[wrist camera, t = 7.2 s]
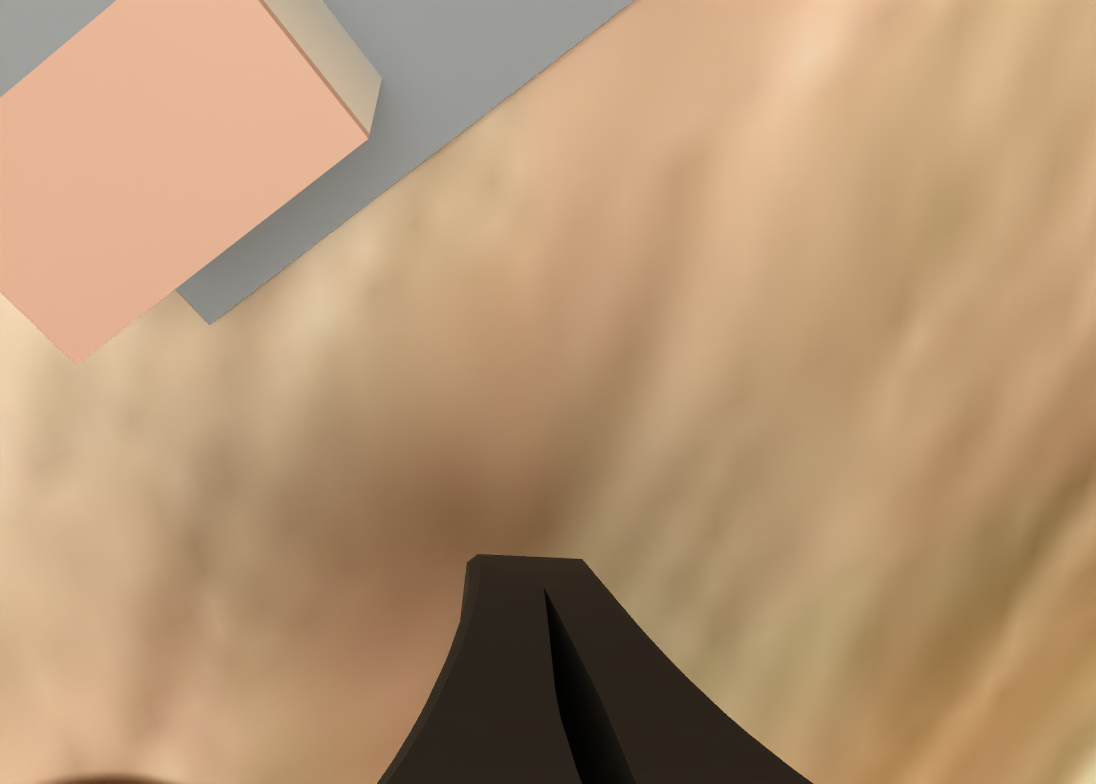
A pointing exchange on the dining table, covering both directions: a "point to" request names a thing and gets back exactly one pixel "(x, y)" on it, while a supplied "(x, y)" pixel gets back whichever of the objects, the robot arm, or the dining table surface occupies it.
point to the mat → (400, 115)
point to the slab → (165, 150)
